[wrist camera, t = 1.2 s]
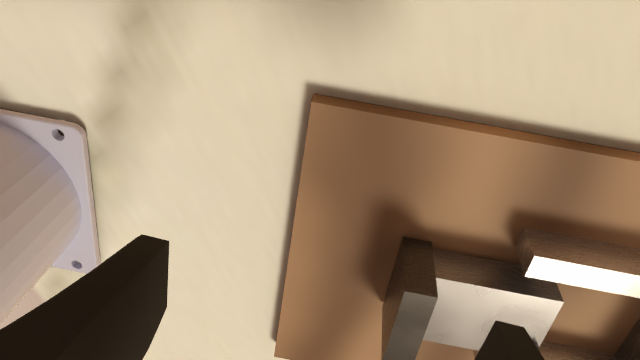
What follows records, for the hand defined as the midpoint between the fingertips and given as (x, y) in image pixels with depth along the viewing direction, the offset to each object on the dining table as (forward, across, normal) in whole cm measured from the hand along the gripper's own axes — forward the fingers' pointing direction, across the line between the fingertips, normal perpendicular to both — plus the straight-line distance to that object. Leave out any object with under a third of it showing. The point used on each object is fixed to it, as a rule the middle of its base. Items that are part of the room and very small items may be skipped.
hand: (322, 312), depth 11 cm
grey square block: (+9, -6, +7) cm, 13 cm away
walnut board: (+10, -7, +6) cm, 14 cm away
